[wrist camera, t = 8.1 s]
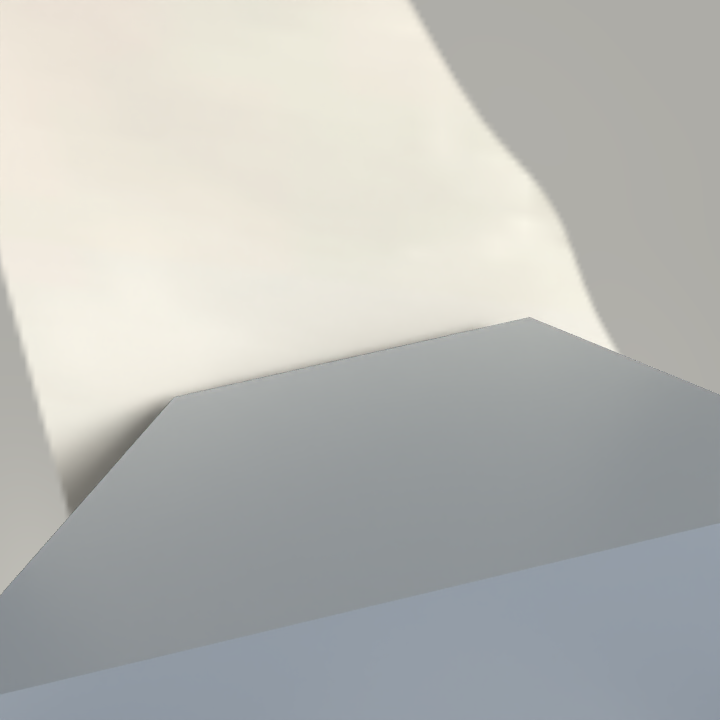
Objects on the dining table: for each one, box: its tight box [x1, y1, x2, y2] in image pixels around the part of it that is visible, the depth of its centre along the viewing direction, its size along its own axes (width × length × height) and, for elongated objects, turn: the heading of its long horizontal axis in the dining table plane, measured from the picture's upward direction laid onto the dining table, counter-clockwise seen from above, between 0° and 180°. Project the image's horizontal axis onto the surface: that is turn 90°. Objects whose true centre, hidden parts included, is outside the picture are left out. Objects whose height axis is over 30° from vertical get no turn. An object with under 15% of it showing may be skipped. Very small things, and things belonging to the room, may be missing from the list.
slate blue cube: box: [0, 317, 720, 720], centre depth 10 cm, size 10×10×9 cm
